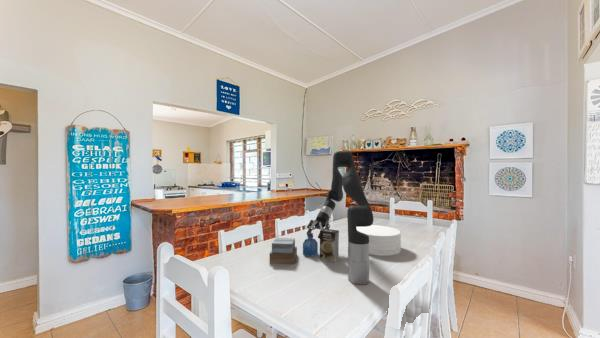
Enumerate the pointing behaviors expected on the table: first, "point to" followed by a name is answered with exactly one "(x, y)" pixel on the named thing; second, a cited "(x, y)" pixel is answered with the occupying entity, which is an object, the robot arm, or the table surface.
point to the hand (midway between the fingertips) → (313, 236)
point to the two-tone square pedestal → (283, 251)
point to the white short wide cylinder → (382, 239)
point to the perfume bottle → (310, 246)
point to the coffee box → (329, 245)
